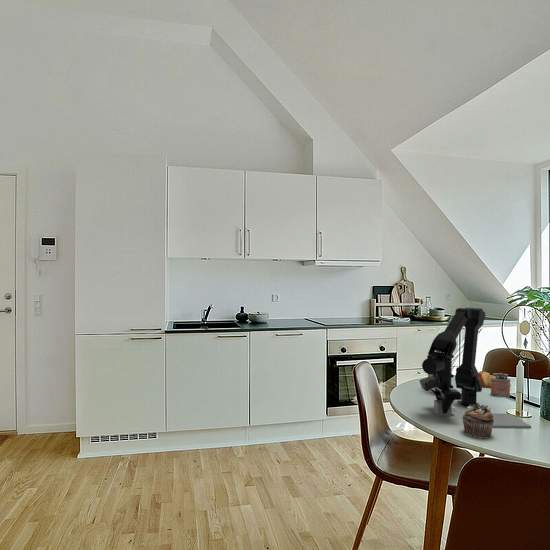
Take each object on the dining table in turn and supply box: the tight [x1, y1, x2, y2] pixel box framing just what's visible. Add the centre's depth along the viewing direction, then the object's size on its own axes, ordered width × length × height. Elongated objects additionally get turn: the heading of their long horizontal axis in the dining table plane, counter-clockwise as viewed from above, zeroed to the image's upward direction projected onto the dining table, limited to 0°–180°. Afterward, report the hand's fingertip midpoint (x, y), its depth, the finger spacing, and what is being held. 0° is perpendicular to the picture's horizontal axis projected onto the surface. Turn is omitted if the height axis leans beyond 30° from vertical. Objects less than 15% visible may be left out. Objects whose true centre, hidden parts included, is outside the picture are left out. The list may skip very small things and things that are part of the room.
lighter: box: [490, 372, 511, 398], centre depth 189 cm, size 8×3×10 cm, turn 84°
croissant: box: [478, 370, 512, 389], centre depth 206 cm, size 21×10×8 cm, turn 58°
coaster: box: [491, 412, 532, 429], centre depth 156 cm, size 13×13×1 cm
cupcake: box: [461, 402, 494, 439], centre depth 143 cm, size 10×10×10 cm
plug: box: [433, 399, 457, 417], centre depth 162 cm, size 4×7×5 cm, turn 91°
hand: (442, 411), depth 162 cm, fingers closed on plug, 4 cm apart
